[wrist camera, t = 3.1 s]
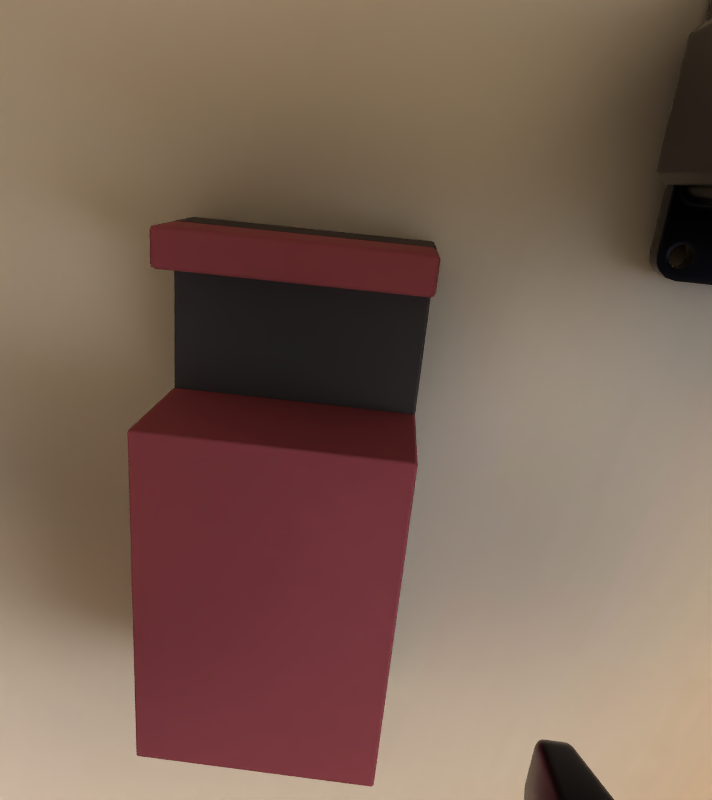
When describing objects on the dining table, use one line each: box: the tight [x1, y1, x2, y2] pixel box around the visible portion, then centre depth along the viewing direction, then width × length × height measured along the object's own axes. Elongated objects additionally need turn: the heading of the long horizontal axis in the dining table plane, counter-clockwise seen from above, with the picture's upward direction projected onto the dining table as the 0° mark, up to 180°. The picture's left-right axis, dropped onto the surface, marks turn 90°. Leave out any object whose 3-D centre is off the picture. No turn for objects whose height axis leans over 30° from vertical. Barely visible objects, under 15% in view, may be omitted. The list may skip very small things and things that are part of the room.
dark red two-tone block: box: [128, 217, 440, 786], centre depth 14 cm, size 5×12×4 cm, turn 175°
